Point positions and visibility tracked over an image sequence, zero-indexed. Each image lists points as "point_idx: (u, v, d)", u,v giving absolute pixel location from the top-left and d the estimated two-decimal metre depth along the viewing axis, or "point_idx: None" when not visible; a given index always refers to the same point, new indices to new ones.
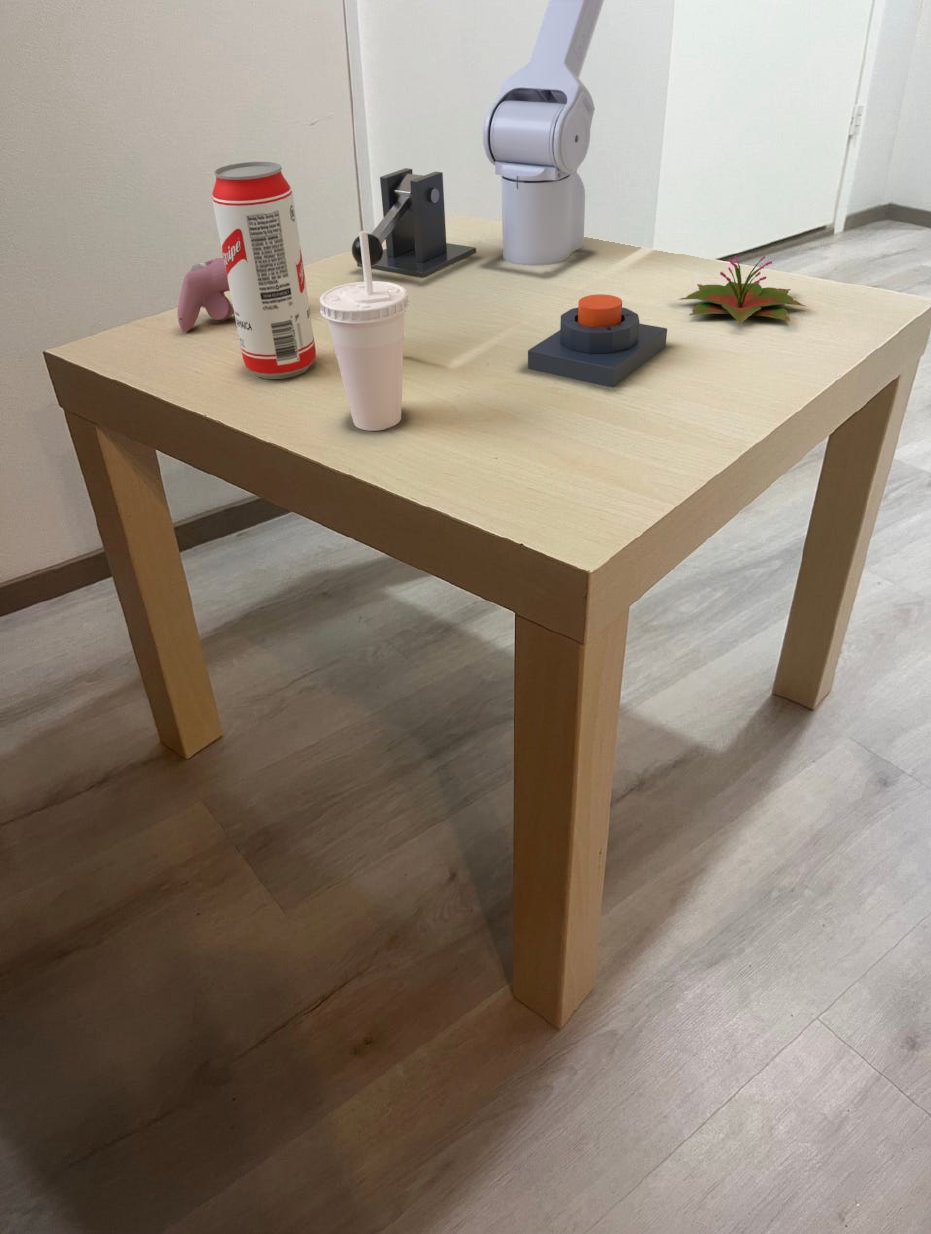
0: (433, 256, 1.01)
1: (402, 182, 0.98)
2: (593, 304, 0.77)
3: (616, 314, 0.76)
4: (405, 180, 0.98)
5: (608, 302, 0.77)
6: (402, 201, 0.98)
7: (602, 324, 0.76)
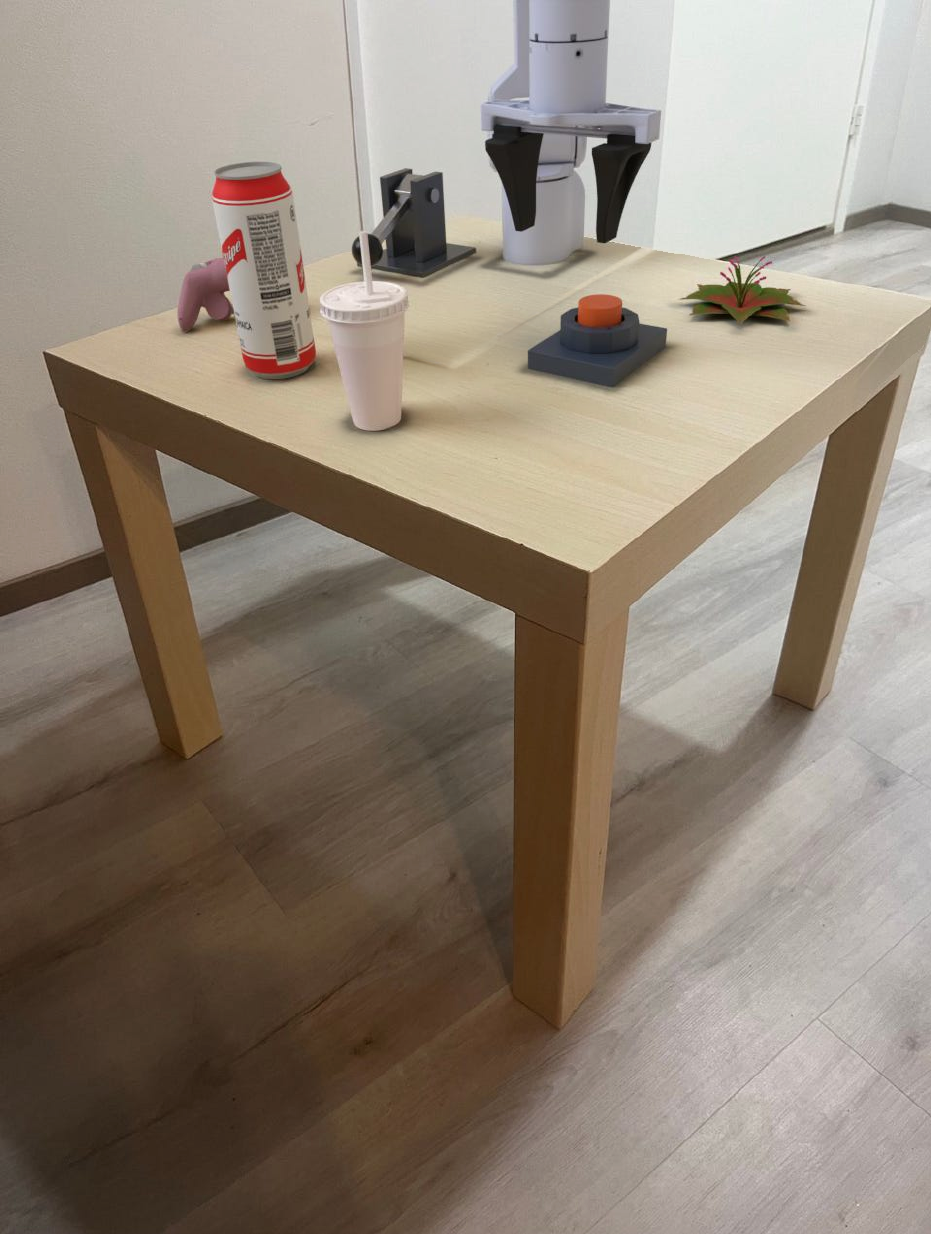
0: (433, 256, 1.01)
1: (402, 182, 0.98)
2: (593, 304, 0.77)
3: (616, 314, 0.76)
4: (405, 180, 0.98)
5: (608, 302, 0.77)
6: (402, 201, 0.98)
7: (602, 324, 0.76)
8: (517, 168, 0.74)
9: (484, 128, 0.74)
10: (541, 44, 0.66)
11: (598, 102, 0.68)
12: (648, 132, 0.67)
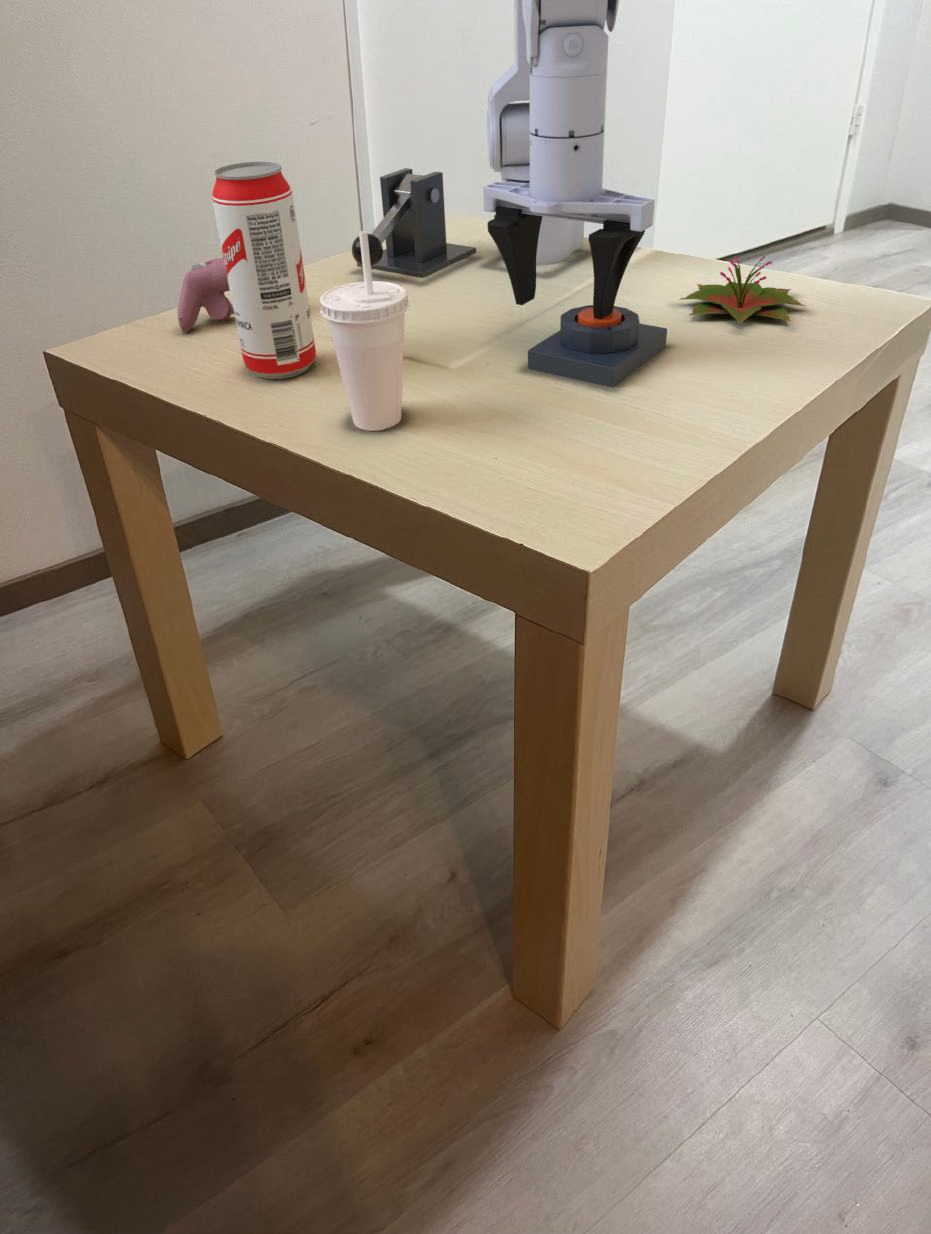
0: (433, 256, 1.01)
1: (402, 182, 0.98)
2: (593, 317, 0.77)
3: None
4: (405, 180, 0.98)
5: None
6: (402, 201, 0.98)
7: None
8: (518, 247, 0.77)
9: (487, 209, 0.78)
10: (541, 138, 0.70)
11: (595, 190, 0.72)
12: (642, 220, 0.71)
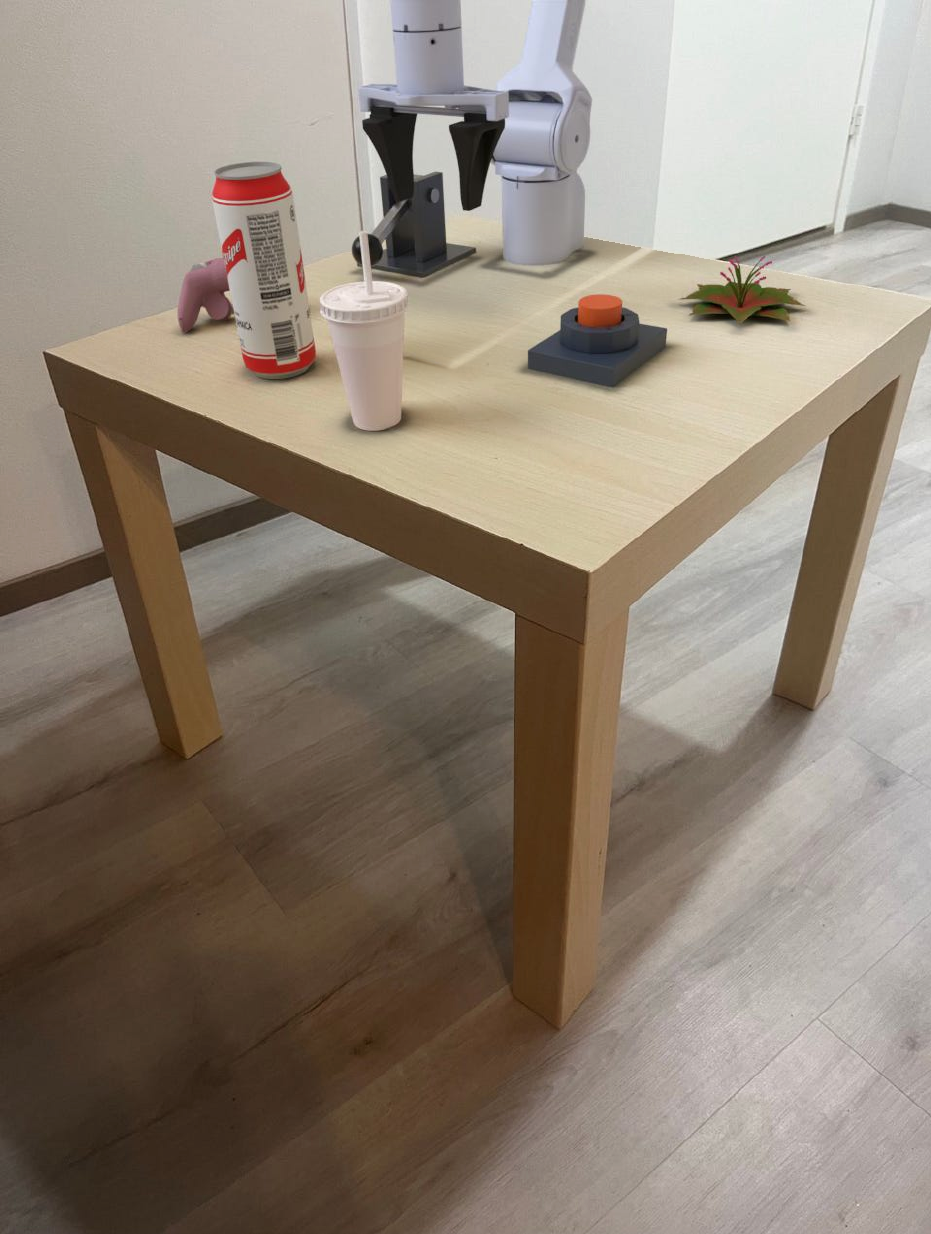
0: (433, 256, 1.01)
1: None
2: (593, 304, 0.77)
3: (616, 314, 0.76)
4: None
5: (608, 302, 0.77)
6: (402, 201, 0.98)
7: (602, 324, 0.76)
8: (392, 144, 0.83)
9: (362, 109, 0.83)
10: (400, 33, 0.76)
11: (455, 84, 0.78)
12: (496, 110, 0.76)
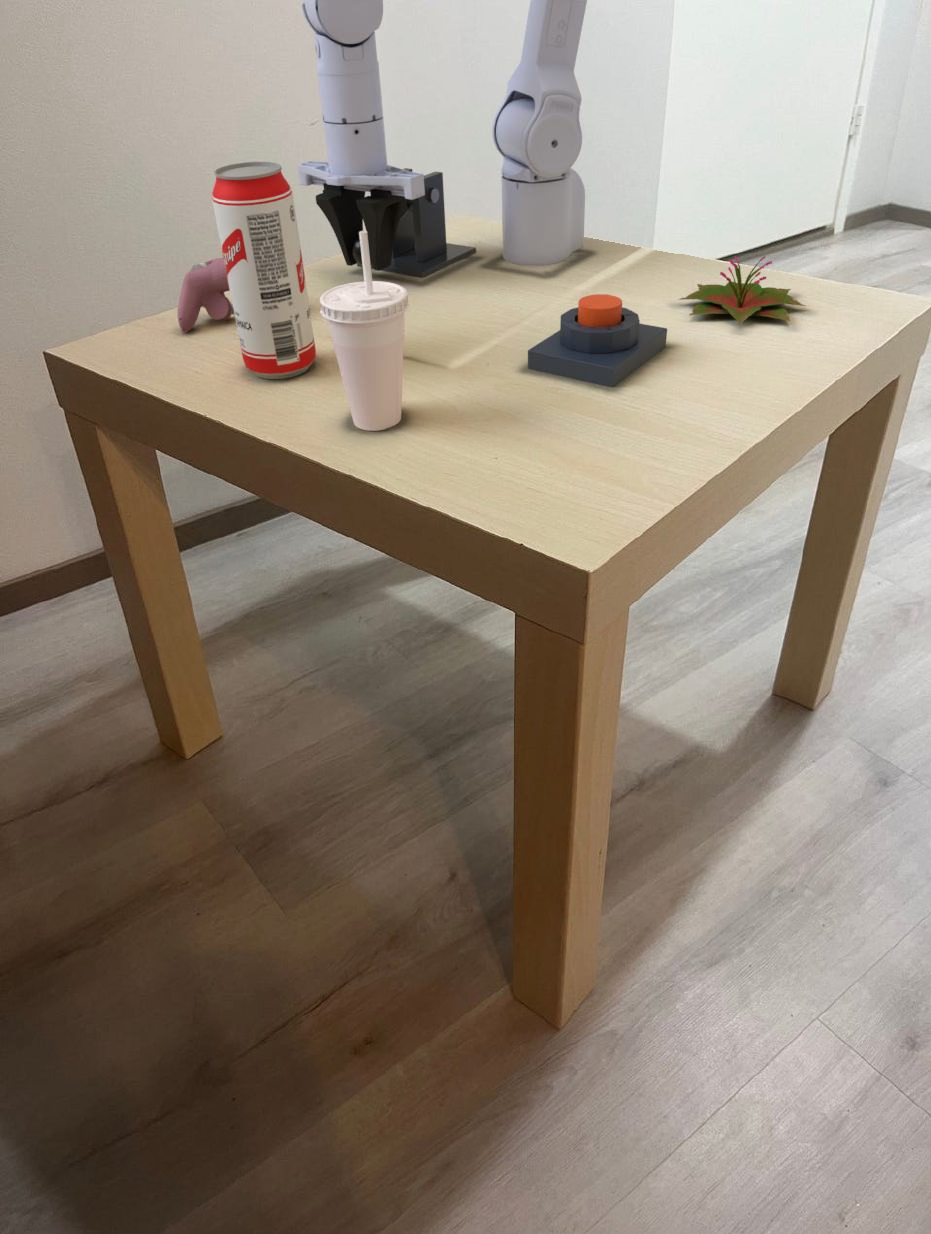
0: (433, 256, 1.01)
1: None
2: (593, 304, 0.77)
3: (616, 314, 0.76)
4: None
5: (608, 302, 0.77)
6: None
7: (602, 324, 0.76)
8: (342, 217, 0.94)
9: (302, 184, 0.95)
10: (329, 124, 0.87)
11: (378, 166, 0.89)
12: (411, 191, 0.88)
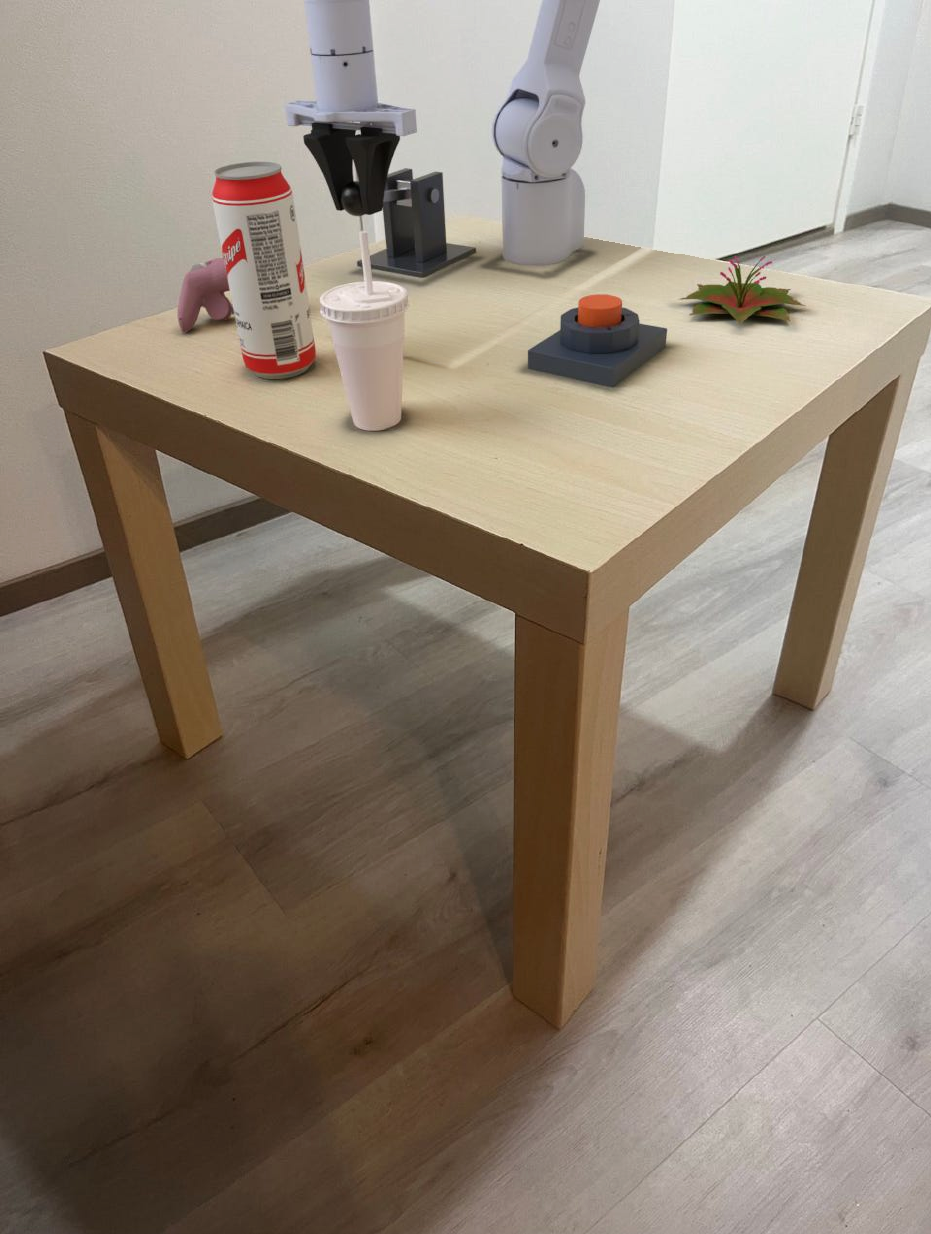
0: (433, 256, 1.01)
1: (406, 179, 0.98)
2: (593, 304, 0.77)
3: (616, 314, 0.76)
4: (409, 179, 0.99)
5: (608, 302, 0.77)
6: (402, 189, 0.97)
7: (602, 324, 0.76)
8: (331, 158, 0.90)
9: (289, 124, 0.91)
10: (316, 57, 0.83)
11: (368, 102, 0.86)
12: (403, 126, 0.84)
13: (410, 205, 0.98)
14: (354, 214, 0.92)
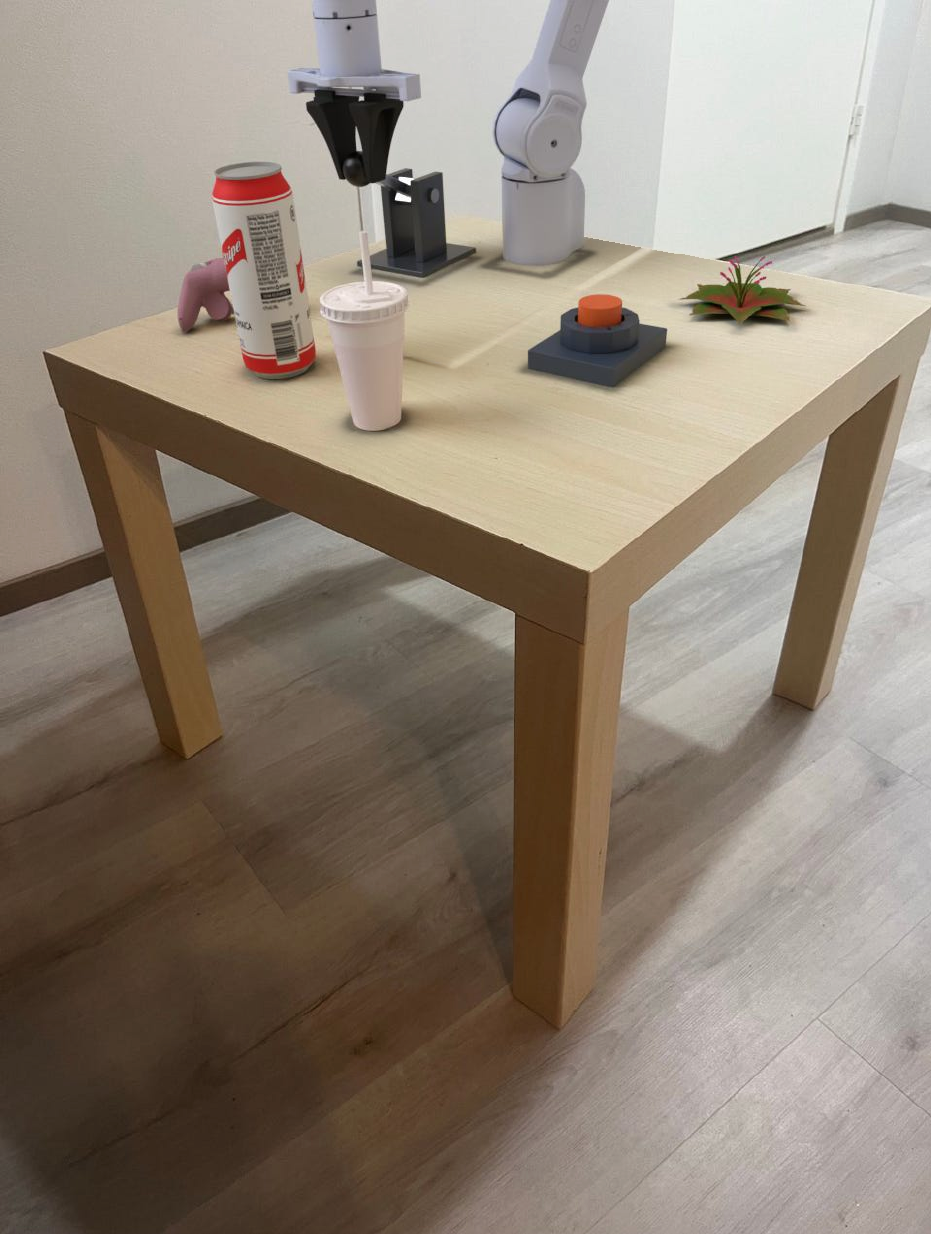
0: (433, 256, 1.01)
1: None
2: (593, 304, 0.77)
3: (616, 314, 0.76)
4: None
5: (608, 302, 0.77)
6: (403, 183, 0.97)
7: (602, 324, 0.76)
8: (334, 125, 0.89)
9: (292, 91, 0.90)
10: (319, 20, 0.82)
11: (371, 67, 0.85)
12: (407, 91, 0.83)
13: (409, 201, 0.97)
14: (354, 181, 0.91)
